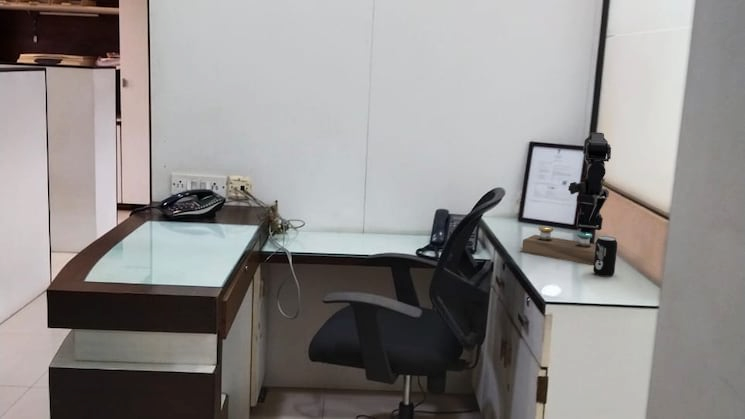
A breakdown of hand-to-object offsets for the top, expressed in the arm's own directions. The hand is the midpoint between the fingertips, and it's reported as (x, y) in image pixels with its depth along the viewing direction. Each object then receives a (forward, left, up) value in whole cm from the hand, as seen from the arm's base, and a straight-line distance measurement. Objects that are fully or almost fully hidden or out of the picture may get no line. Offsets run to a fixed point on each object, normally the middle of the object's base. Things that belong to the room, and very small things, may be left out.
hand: (590, 219), depth 263 cm
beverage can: (+23, +13, -13) cm, 30 cm away
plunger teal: (+7, +1, -9) cm, 12 cm away
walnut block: (+7, -6, -13) cm, 16 cm away
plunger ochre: (+7, -13, -9) cm, 18 cm away
